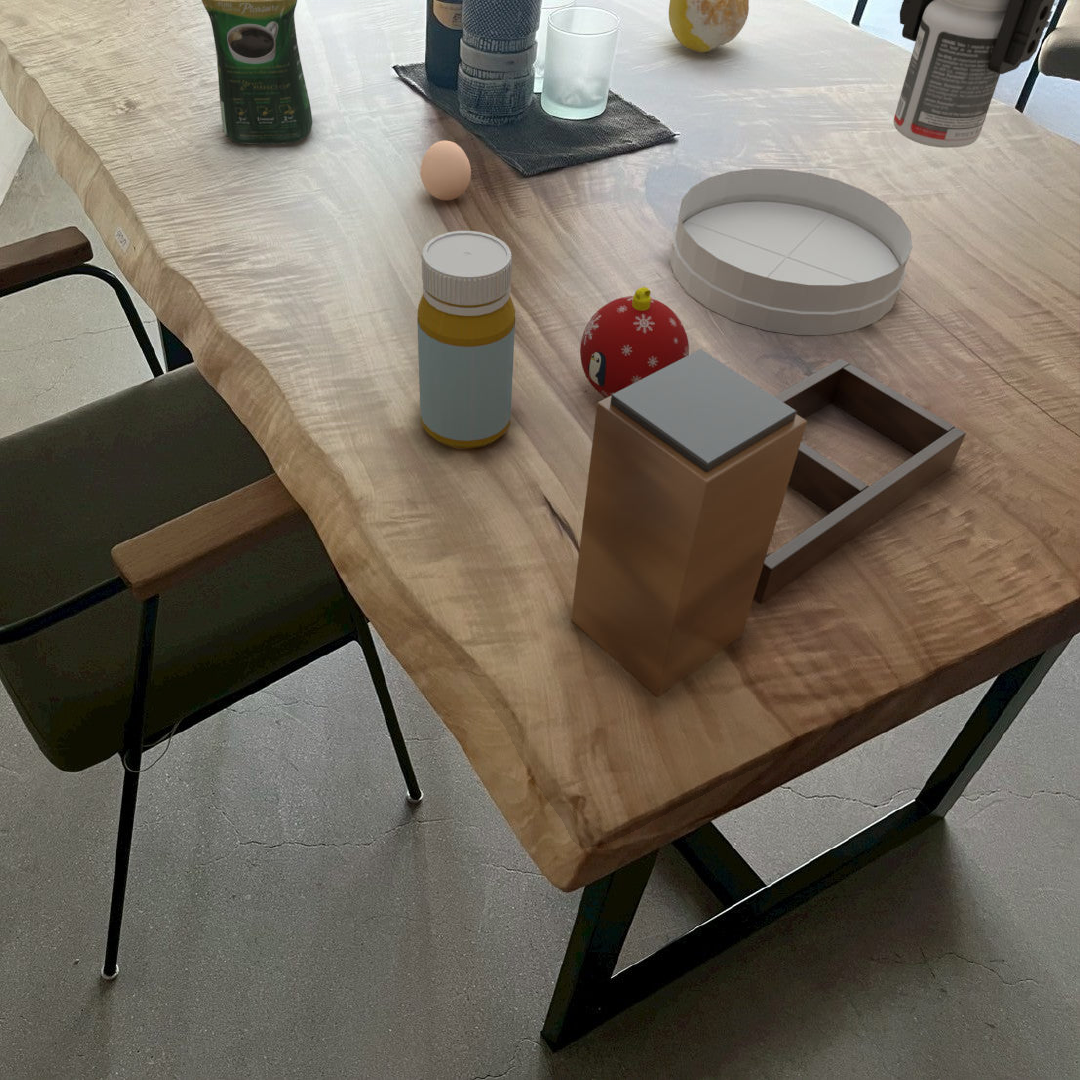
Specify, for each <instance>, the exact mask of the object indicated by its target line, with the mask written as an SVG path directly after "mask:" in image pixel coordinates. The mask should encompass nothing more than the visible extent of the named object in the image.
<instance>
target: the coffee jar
mask: <svg viewBox="0 0 1080 1080" xmlns="http://www.w3.org/2000/svg"><path fill="white" fill-rule="evenodd" d="M201 3H202V5H203V7H204V9H205V10H206V13H207V14H208V17H209V19H210V23H211V28H212V33H213V41H214V46H215V55H216V56H215V57H216V64H217V78H218V79H217V80H218V92H219V104H220V105H219V106H220V114H221V115H220V116H221V123H222V128H223V129H222V130H223V134H225V136H226V137H227V138H228V139H230V140H232V141H233V142H235V143H237V144H247V145H278V144H279V145H283V144H295V143H299V142H300V141H302V140H304V139H305V138H307V137H308V136H309V135H310V133H311V131H312V128H313V114H312V109H311V103H310V98H309V93H308V88H307V83H306V78H305V75H304V70H303V66H302V61H301V55H300V50H299V44H298V38H297V37H298V36H297V31H296V30H297V29H296V22H295V21H296V20H295V12H296V7H297V4H298V0H201Z"/></svg>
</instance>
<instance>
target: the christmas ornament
mask: <svg viewBox="0 0 1080 1080" xmlns="http://www.w3.org/2000/svg"><path fill="white" fill-rule="evenodd" d="M580 340H581V341H580V346H579V356H580V363H581V367H582V370H583V373H584V375H585V377H586V379H587V381H588V382H589V384H590V386H591V387H592V388H593V389H594V390H595V391H596V392H597V393H598V394H600V395H601V396H602V397H603V398H604V399H605V398H607V397H609V396H611V395H612V394H614V393H616V392H618V391H620V390H622V389H624V388H626V387H628V386H629V385H631V384H633V383H635V382H637V381H639V380H641V379H643V378H645V377H647V376H649V375H651V374H653V373H655V372H657V371H659V370H661V369H663V368H665V367H667V366H668V365H670V364H672V363H674V362H676V361H678V360H680V359H682V358H684V357H686V356H688V355H690V345H689V339H688V334H687V332H686V329H685V326H684V324H683V323H682V321H681V319H680V317H678V315H677V314H676V313H675V311H673V310H672V309H671V307H669V306H668V305H666V304H664V303H663V302H661V301H659V300H657V299H655V298H652V297H651V290H650V289H649V288H648V287H646V286H643V287H640V288H638V289H636V291H635V292H634V295H628V296H622V297H619V298H616V299H613V300H611V301H609V302H608V303H606V304H604V305H603V306H602V307H601V308H599V309H598V310H597V311H596V312H595V313H594V314H593V315H592V317H591V318H590V320H589V321H588V322H587V324H586V326H585V328H584V330H583V333H582V336H581V339H580Z"/></svg>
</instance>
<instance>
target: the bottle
mask: <svg viewBox="0 0 1080 1080" xmlns="http://www.w3.org/2000/svg"><path fill="white" fill-rule="evenodd" d="M512 267H513V255H512V250H511V249H510V247H509V246H508V244H507V243H506V242H505V241H503V240H502V239H500V238H498V237H497V236H494V235H492V234H489V233H485V232H482V231H476V230H454V231H448V232H444V233H442V234H439V235H436V236H434V237H432V238H430V240H428V241H427V242H426V243H425V245H424V246H423V248H422V253H421V275H422V276H421V279H422V291H423V293H422V295H421V297H420V301H419V303H418V307H417V318H416V320H417V321H416V322H417V325H416V326H417V354H418V382H419V383H418V384H419V385H418V386H419V387H418V388H419V414H420V422H421V425H422V427H423V429H424V430H425V432H426V433H427V434H428V435H429V436H430V437H432V438H433V439H434V440H435V441H437V442H439V443H441V444H443V445H444V446H447V447H451V448H454V449H459V450H460V449H463V450H473V449H479V448H483V447H485V446H488V445H490V444H492V443H494V442H496V441H497V440H498V439H499V438H501V437H502V436H503V435H504V434H505V433H506V432H507V431H508V429H509V427H510V424H511V417H512V396H513V395H512V394H513V376H514V375H513V374H514V355H515V354H514V353H515V333H516V332H515V330H516V309H515V305H514V303H513V300H512V297H511V289H512V288H511V284H512V272H513V271H512V269H513V268H512Z"/></svg>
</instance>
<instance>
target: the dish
mask: <svg viewBox="0 0 1080 1080" xmlns="http://www.w3.org/2000/svg"><path fill="white" fill-rule="evenodd" d="M677 219H678V220H677V223H676V224H675V225H674V229H673V230H674V231H673V236H672V242H671V243H672V245H671V251H670V256H669V263H670V264H669V265H670V267H671V270H672V273H673V277H674V278H675V280H676V281H677V282H678V283H679V285H680V286H681V287H682V289H683V291H685V293H686V294H688V295H689V296H690V297H692V298H693V299H694V300H696V301H697V302H698V303H700V304H701V305H702V306H703V307H705V308H707V309H708V310H710V311H713V312H714V313H716V314H718V315H720V316H722V317H725V318H726V319H729V320H731V321H733V322H736V323H739V324H741V325H742V324H743V325H746V326H749V327H752V328H755V329H759V330H763V331H767V332H774V333H780V334H788V335H794V336H832V335H838V334H842V333H849V332H853V331H854V332H855V331H858V330H861V329H862V328H865V327H867V326H870V325H872V324H874V323H877V322H879V320H881V319H882V318H884V316H886V315H887V314H888V313H889V312H890V311H891V310H892V309H893V307H894V305H895V303H896V300H897V298H898V296H899V292H900V290H901V288H902V284H903V282H904V279H905V278H906V274H907V273H906V266H907V264H908V261H909V257H910V255H911V252H912V250H913V239H912V232H911V230H910V229H909V226H908V225H907V224H906V222H905V220H904V219H903V217H902V216H901V215H900V214H899V213H898V212H897V211H895V210H894V209H893V208H892V207H891V206H889V204H888V203H887V202H884V201H883V200H881V199H879V198H878V197H876V196H874V195H873V194H871V193H869V192H867V191H865V190H864V189H861V188H859V187H856V186H853V185H851V184H849V183H846V182H844V181H842V180H839V179H835V178H831V177H828V176H823V175H820V174H815V173H811V172H805V171H798V170H790V169H783V168H780V169H779V168H749V169H741V170H732V171H728V172H727V171H726V172H723V173H721V174H717V175H714V176H710V177H707V178H706V179H703V180H702V181H700V182H699V183H697V184H694V185H693V186H691V187H690V188H689V190H688V191H687V192H686V194H684V196H683V197H682V198H681V202H680V207H679V211H678V218H677Z"/></svg>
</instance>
